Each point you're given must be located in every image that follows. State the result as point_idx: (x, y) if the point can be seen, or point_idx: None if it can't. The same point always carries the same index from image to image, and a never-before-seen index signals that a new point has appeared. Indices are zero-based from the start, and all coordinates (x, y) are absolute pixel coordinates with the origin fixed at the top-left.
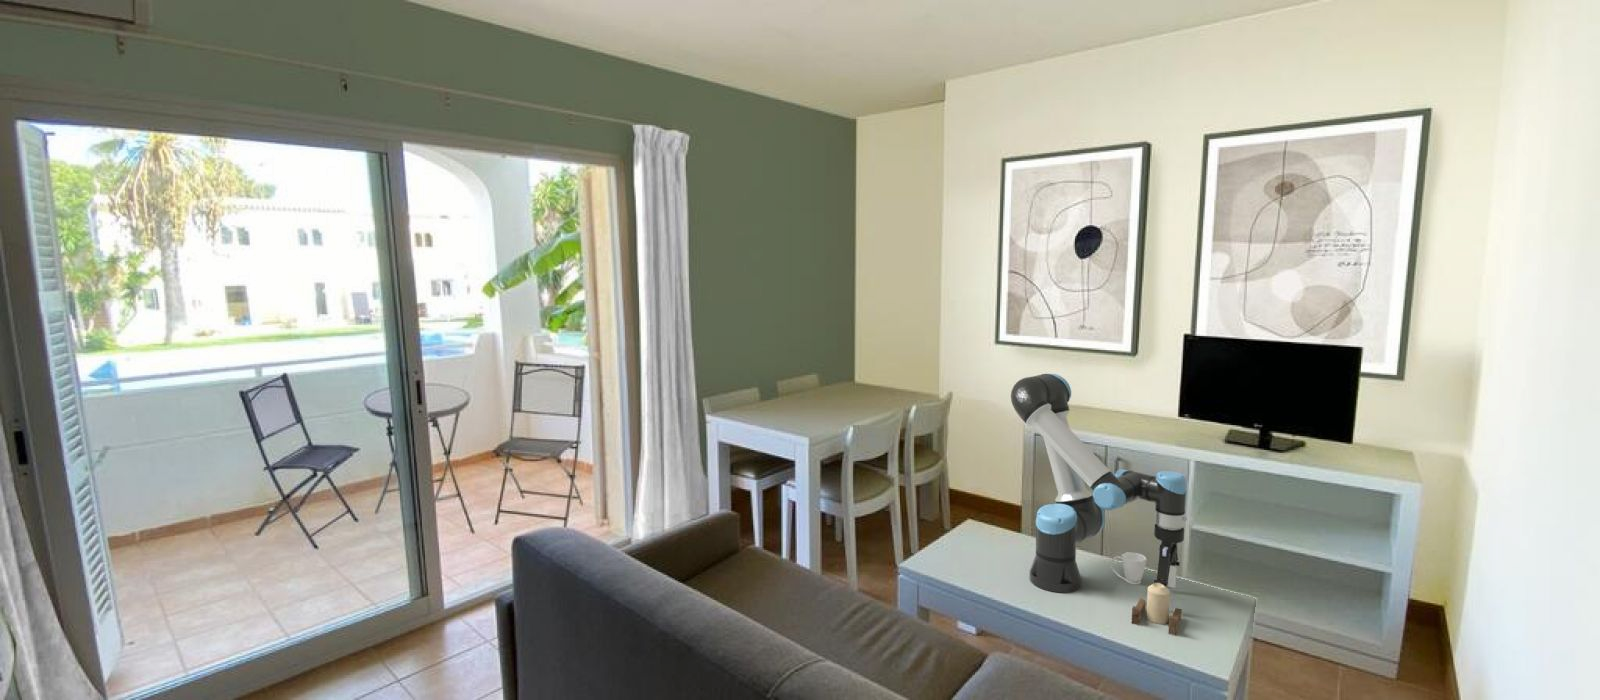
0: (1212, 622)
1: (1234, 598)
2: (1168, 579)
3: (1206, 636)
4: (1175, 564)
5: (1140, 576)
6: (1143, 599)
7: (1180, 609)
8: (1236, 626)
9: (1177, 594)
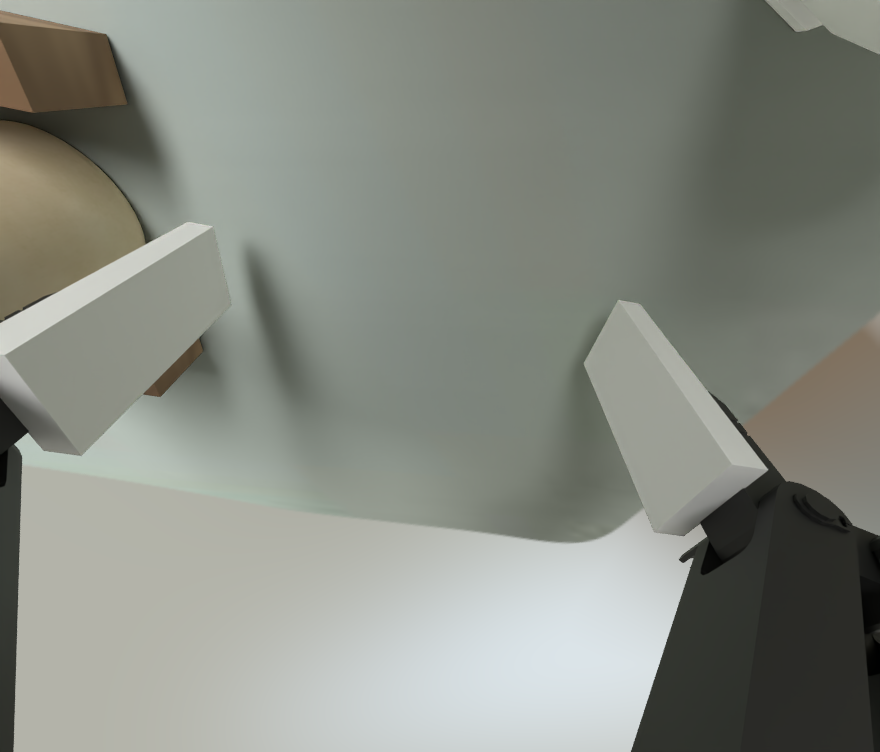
0: (290, 456)
1: (579, 527)
2: (627, 360)
3: (126, 429)
4: (698, 554)
5: (828, 4)
6: (14, 79)
7: (150, 390)
8: (318, 507)
9: (562, 349)
